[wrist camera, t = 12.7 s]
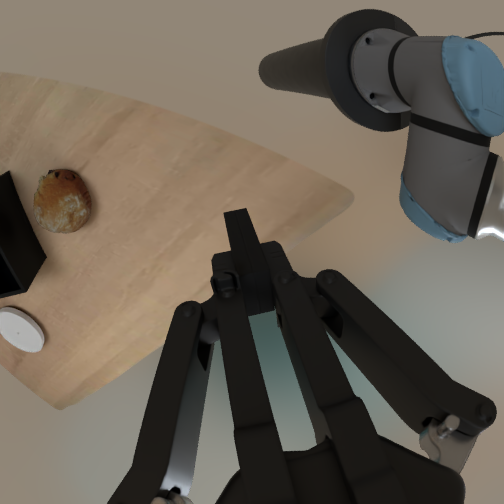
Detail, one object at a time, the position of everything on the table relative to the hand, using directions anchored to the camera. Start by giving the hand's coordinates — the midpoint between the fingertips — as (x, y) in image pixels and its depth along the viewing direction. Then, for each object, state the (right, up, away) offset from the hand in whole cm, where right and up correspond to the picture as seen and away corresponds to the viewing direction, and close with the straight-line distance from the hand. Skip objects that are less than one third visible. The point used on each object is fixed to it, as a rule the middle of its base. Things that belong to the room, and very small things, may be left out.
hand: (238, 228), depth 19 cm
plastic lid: (-54, -19, +31) cm, 65 cm away
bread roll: (-29, +7, +19) cm, 35 cm away
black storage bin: (-45, +3, +18) cm, 49 cm away
